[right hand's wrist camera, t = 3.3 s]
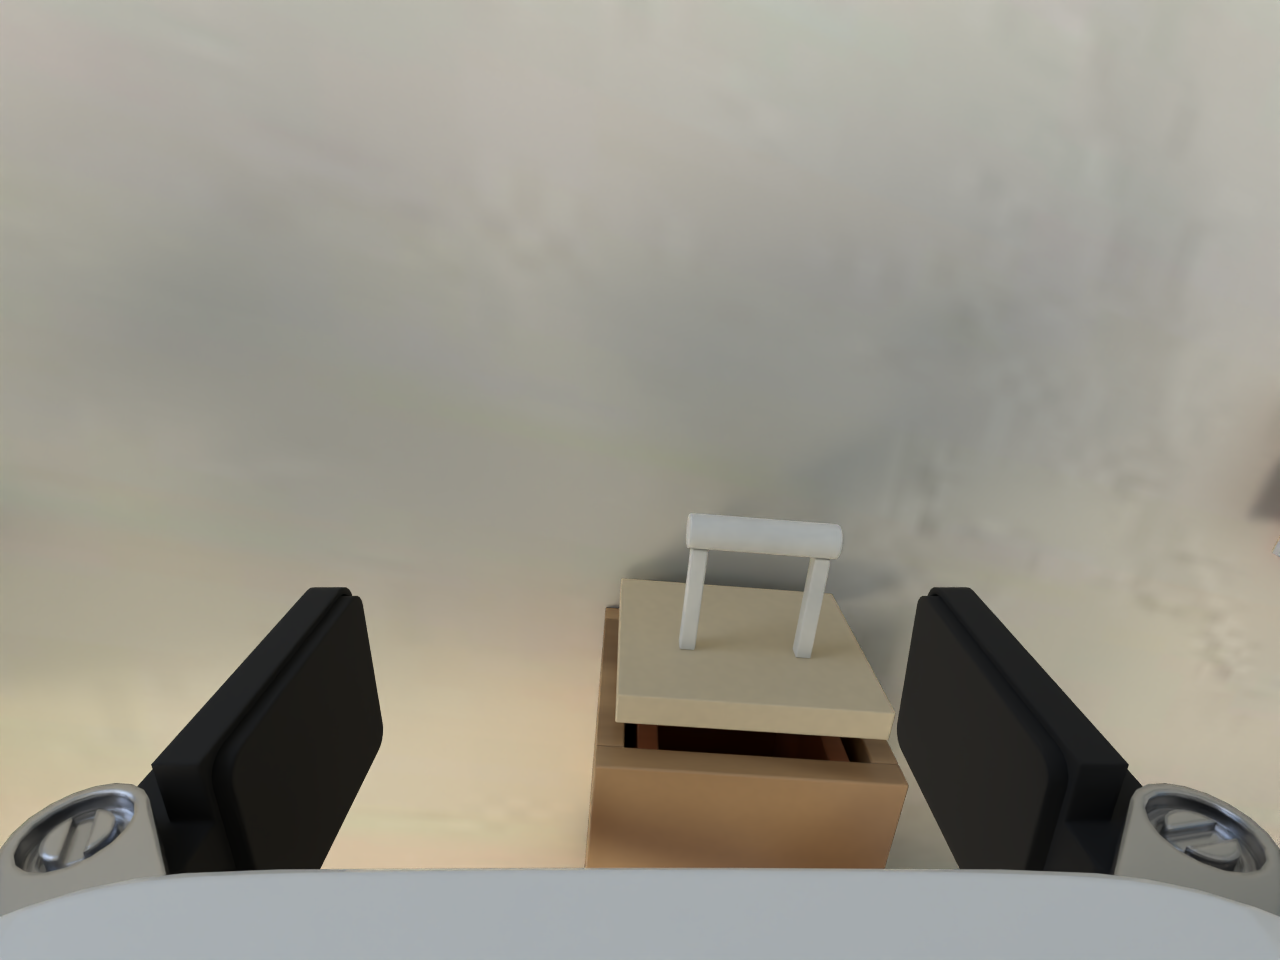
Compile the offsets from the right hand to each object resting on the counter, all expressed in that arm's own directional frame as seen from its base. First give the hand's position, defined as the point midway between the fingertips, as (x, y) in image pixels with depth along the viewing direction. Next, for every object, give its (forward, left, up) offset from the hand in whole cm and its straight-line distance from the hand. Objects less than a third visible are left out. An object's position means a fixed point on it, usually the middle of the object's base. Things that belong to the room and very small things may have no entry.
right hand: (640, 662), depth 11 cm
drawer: (-11, -10, -18) cm, 23 cm away
